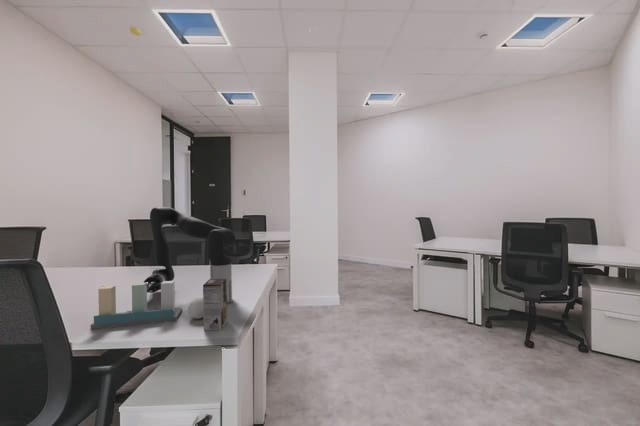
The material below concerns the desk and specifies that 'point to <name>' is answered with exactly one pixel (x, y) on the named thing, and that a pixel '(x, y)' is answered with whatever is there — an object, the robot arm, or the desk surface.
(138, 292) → the key sage
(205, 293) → the coffee box
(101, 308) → the block
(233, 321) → the desk surface
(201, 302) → the ball
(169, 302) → the light grey tall block
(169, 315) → the keypad base
